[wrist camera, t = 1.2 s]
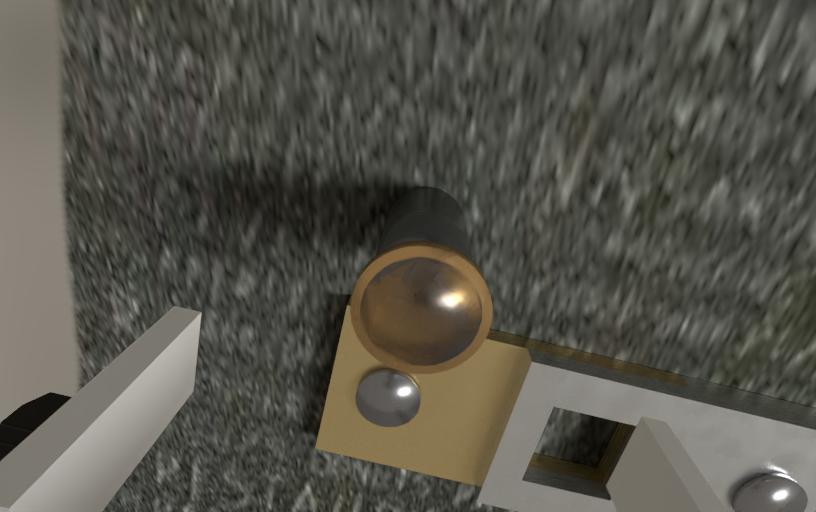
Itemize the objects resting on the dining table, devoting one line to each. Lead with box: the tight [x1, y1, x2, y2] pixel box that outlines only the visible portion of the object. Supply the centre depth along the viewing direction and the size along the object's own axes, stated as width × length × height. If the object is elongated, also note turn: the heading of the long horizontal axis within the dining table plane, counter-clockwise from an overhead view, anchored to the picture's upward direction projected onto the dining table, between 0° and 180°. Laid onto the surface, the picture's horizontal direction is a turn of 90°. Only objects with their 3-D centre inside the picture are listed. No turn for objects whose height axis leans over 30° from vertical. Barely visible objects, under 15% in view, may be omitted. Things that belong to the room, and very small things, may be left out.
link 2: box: [475, 349, 816, 512], centre depth 34 cm, size 12×22×4 cm, turn 76°
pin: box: [350, 187, 493, 374], centre depth 25 cm, size 6×6×12 cm
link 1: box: [315, 295, 691, 485], centre depth 34 cm, size 12×23×2 cm, turn 76°
